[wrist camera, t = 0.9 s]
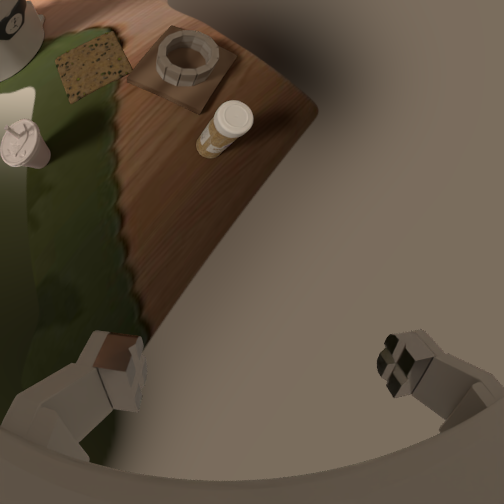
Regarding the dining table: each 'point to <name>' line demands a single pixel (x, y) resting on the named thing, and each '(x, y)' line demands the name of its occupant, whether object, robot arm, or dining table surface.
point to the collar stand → (183, 68)
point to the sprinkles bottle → (224, 128)
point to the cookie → (92, 66)
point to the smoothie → (24, 145)
